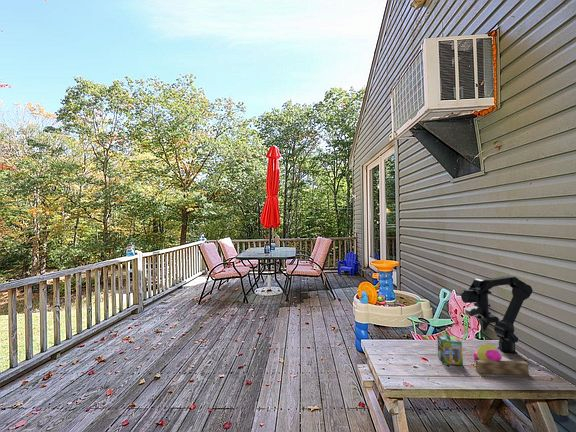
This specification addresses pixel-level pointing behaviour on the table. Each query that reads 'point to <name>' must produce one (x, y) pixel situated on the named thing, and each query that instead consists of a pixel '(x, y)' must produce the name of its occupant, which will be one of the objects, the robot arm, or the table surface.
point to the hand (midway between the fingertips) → (483, 330)
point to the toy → (487, 353)
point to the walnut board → (502, 367)
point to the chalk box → (449, 349)
